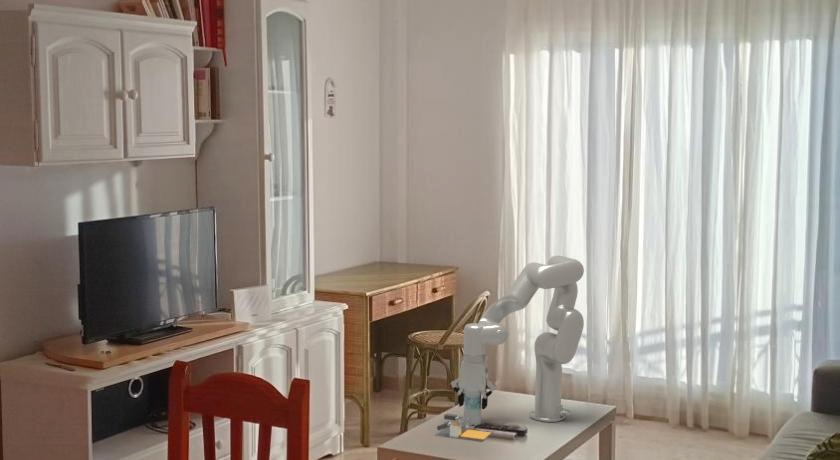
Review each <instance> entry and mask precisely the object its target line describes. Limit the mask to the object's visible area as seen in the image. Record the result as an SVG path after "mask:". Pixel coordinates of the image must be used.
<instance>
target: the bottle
mask: <svg viewBox="0 0 840 460" xmlns="http://www.w3.org/2000/svg"><path fill="white" fill-rule="evenodd" d="M463 394H464V405H463V406H464V409H463V417H465V418H469V427H470V426H475V427H476V426H479V425H481V424H482V394H481V392H480V391H479V390H478V388H477V384H476V382H474V381H467V382H466V385H465V388H464V391H463Z"/></svg>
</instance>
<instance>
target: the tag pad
mask: <svg viewBox="0 0 840 460" xmlns="http://www.w3.org/2000/svg"><path fill="white" fill-rule="evenodd" d="M490 434H491V432H484V431H476V430H469V429H468V430H466V431H465V432H464V433H463V434H462V435H461V436H460V437H464V438H472V439H479V440H484V439H485V438H486V439H487V437H488V436H489V435H490ZM491 435H492V434H491ZM491 435H490V436H491ZM490 436H489V437H490ZM489 437H488V438H489ZM486 439H485V440H486ZM485 440H484V441H485Z"/></svg>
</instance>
